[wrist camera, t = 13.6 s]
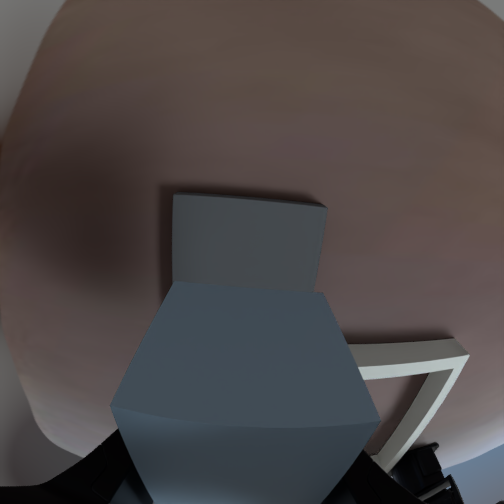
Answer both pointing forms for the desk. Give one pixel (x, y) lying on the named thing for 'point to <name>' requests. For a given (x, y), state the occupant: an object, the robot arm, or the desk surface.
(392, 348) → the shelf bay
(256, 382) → the blank block
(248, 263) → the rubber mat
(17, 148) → the desk surface
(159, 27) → the desk surface
